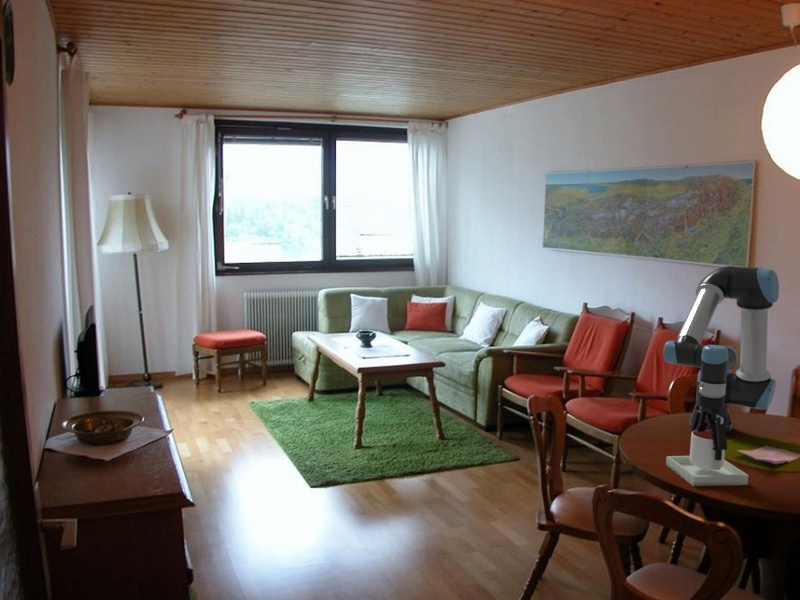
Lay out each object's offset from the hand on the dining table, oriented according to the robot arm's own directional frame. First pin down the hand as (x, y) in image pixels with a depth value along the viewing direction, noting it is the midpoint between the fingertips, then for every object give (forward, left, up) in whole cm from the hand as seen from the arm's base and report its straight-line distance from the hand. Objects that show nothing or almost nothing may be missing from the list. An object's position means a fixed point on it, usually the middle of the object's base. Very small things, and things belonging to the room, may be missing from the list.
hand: (706, 463), depth 226 cm
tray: (0, 0, -4) cm, 4 cm away
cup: (0, 0, -1) cm, 1 cm away
